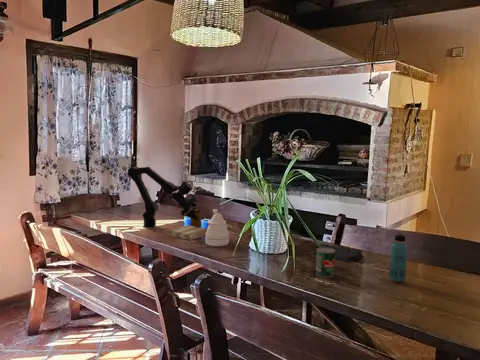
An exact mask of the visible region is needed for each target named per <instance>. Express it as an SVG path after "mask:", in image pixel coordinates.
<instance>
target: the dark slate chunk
mask: <svg viewBox="0 0 480 360" xmlns="http://www.w3.org/2000/svg"><path fill="white" fill-rule="evenodd" d="M321 247H326V248H332V249H334V250H335V259H337V260H336V261H339V260H341V261H340V262H343V261H344V263H346V262H348V263H351V262H352V263H354V262H357V260H358V261H359V259H360V260H361V259H362V258H363V257H364V254H362V251H361V249H359V250H358V249H356V248H351V249H350V247H348V246H344V245H340V246H338V247H336V246H334V245H333V246H332V245H329V244H324V245H322V246H321ZM315 253H316V254H315ZM314 254H315V255H317V249H316V250H315V251H314ZM353 261H354V262H353Z"/></svg>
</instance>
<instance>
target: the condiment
mask: <svg viewBox="0 0 480 360" xmlns="http://www.w3.org/2000/svg"><path fill="white" fill-rule="evenodd" d="M193 213H194V214H195V215H196V217H197V218H198V220H195V219H192V218H190V226H194V227H199V228H201V222H202V221H201V218H202V216H201V210H200V209H193Z"/></svg>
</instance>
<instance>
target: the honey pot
mask: <svg viewBox="0 0 480 360" xmlns="http://www.w3.org/2000/svg"><path fill="white" fill-rule="evenodd" d="M212 212H213V215H212V217H211V219H209V220H208V221H207V224H208V226H207V228H206V229H207V232H206V235H205V244H206V245H208V246H211V247H213V246H214V247H222V246H228V245H229V244H228V243H230V232H229V230H228V226H227V221H226V220H225V219H224V217H223V215H222V214H221V213H220V212H218V209H212Z"/></svg>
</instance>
